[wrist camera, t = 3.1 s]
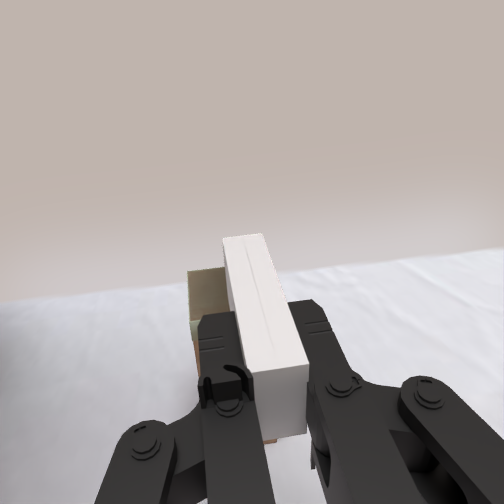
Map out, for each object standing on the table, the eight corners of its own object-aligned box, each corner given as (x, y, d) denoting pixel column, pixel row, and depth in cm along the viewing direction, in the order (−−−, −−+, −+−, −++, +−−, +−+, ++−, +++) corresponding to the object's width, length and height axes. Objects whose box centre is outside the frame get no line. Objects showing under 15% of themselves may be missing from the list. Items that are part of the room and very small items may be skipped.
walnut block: (209, 454, 31) (189, 322, 24) (205, 397, 35) (187, 271, 28) (277, 442, 32) (276, 310, 25) (265, 388, 36) (261, 262, 29)
